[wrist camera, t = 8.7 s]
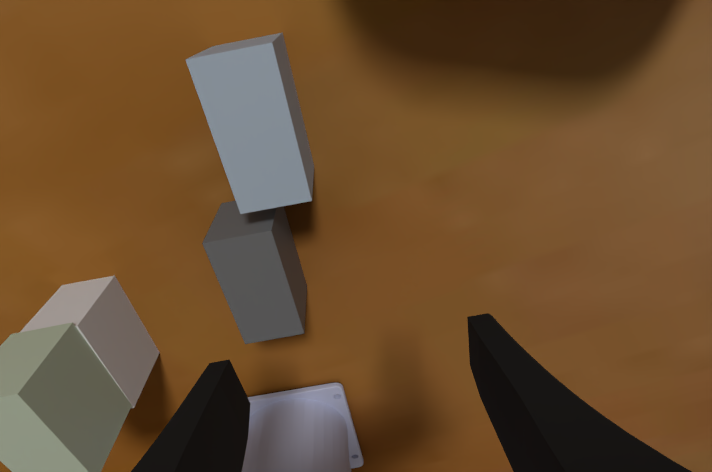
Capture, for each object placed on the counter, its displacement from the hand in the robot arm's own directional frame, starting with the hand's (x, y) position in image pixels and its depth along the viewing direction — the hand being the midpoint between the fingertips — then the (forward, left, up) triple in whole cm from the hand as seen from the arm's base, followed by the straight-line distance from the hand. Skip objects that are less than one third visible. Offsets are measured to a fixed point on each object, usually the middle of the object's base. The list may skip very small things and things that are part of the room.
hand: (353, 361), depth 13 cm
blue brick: (+5, +2, -11) cm, 12 cm away
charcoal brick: (-2, +4, -11) cm, 12 cm away
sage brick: (-4, +15, -7) cm, 17 cm away
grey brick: (-5, +15, -11) cm, 18 cm away
